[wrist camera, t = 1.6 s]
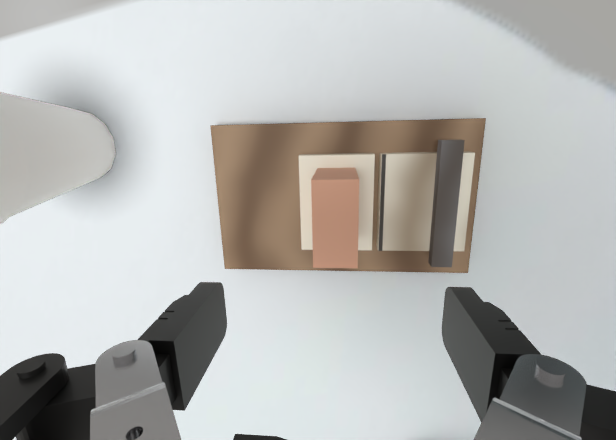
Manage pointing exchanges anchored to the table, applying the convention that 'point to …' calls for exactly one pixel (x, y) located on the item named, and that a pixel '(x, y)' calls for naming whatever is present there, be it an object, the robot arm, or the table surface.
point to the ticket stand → (387, 191)
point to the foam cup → (47, 152)
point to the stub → (336, 207)
